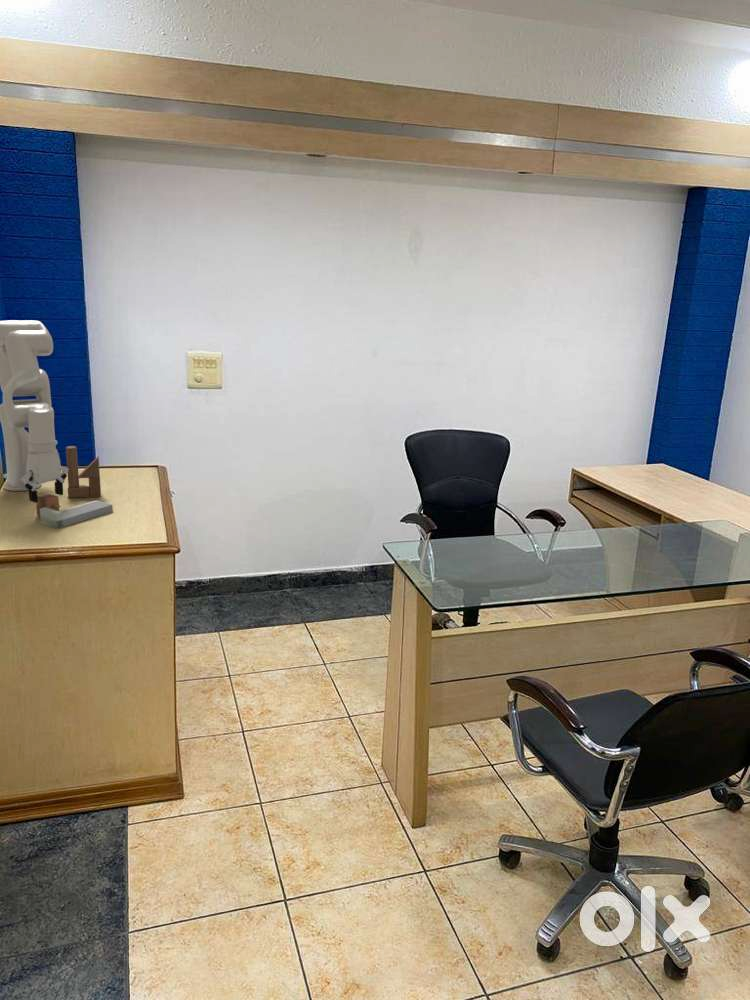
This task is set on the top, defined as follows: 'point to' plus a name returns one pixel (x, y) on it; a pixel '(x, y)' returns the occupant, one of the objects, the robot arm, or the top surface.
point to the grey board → (74, 514)
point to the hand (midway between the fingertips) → (46, 497)
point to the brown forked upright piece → (82, 476)
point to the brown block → (47, 502)
